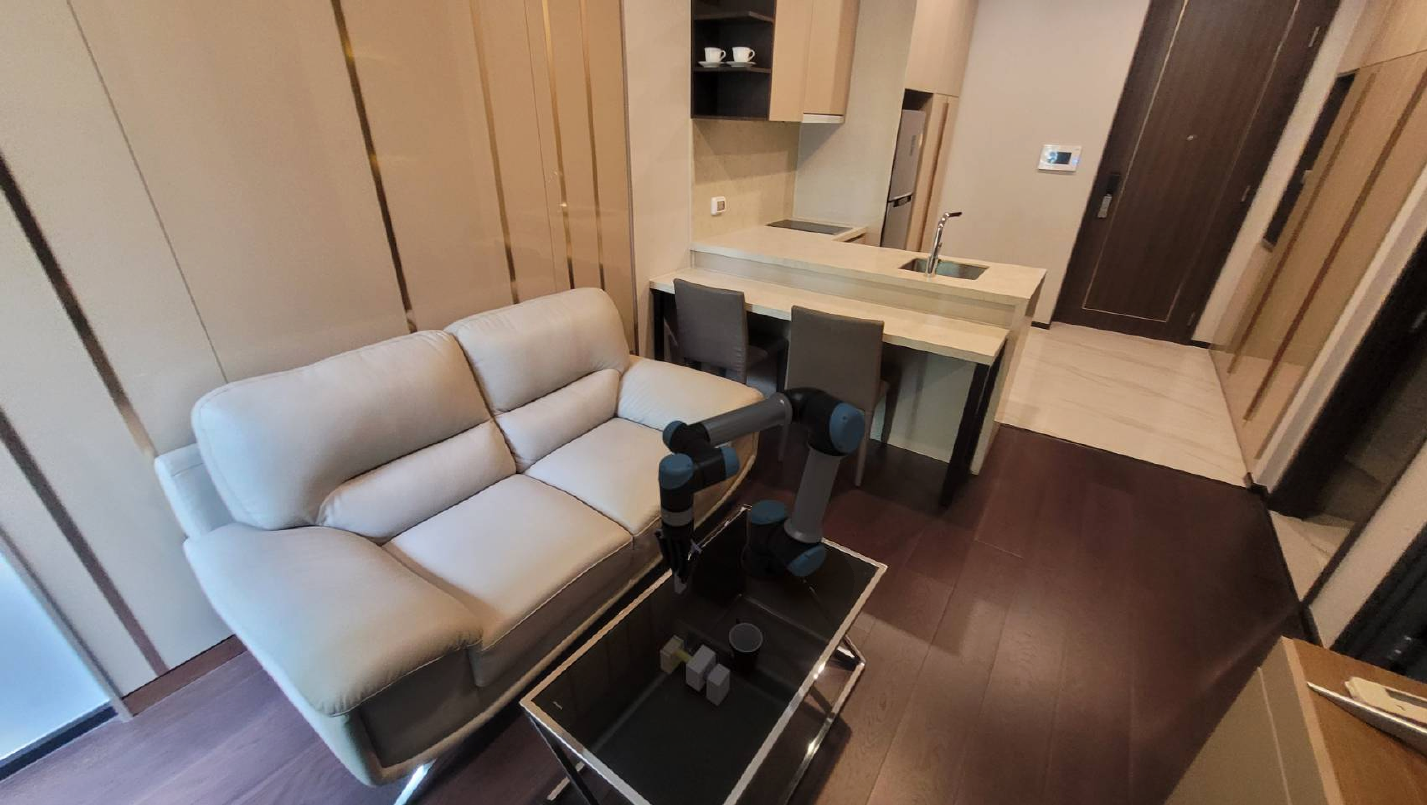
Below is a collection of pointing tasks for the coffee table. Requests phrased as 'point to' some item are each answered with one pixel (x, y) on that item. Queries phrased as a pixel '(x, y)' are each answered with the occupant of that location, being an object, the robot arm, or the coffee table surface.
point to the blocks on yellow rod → (713, 675)
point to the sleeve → (699, 667)
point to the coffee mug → (744, 646)
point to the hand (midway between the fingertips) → (680, 589)
